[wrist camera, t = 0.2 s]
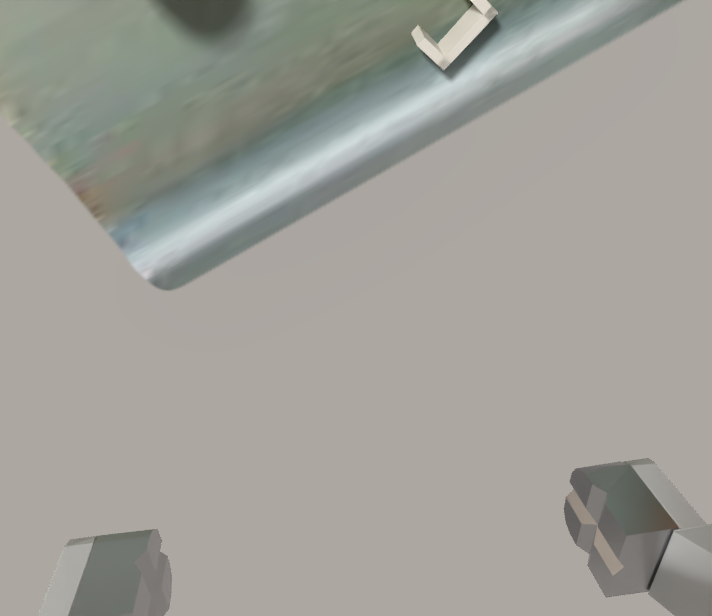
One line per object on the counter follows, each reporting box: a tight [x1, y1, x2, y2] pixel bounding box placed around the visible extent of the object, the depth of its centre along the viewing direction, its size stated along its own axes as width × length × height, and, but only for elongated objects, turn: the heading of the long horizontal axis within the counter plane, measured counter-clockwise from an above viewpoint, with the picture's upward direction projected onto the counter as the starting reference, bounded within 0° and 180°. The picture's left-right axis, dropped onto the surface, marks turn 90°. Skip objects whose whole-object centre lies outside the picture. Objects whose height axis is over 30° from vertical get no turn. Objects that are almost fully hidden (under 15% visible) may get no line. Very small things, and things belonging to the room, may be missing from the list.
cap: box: [411, 0, 498, 70], centre depth 53 cm, size 7×4×3 cm, turn 139°
